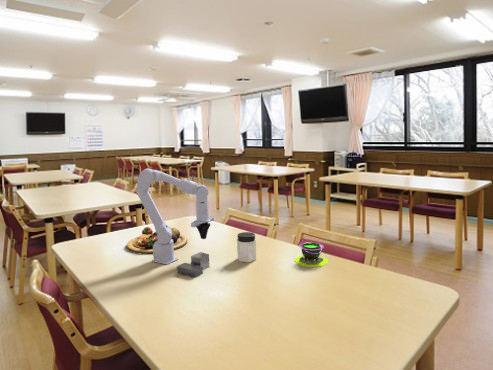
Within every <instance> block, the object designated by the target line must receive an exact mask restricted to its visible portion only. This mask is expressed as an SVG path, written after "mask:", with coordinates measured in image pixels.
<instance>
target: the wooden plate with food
mask: <svg viewBox="0 0 493 370" xmlns="http://www.w3.org/2000/svg"><path fill="white" fill-rule="evenodd" d="M171 229H172V240H173V245H174V251H177V250H179V249H182V248H184V247H185V246H186V245H187V244H188V238H187V237H186V236H185V235H183V234H181V232H180V231H179V229H178V228H176V227H172V228H171ZM157 241H158V239H157V233H156V231H154V232H153V229H152V228H151V227H150V226H146V227H145V228H143V229H142V231H141V234H140V235H139V236H137V237H135V238H132V239H131V240H129V241H128V242H127V244H126V249H127V250H128V251H129V252H131V251H132V252H131V253H133V252H135V254H138V253H141V254H140V255H153V245H154V243H155V242H157Z"/></svg>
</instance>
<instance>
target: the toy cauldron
mask: <svg viewBox="0 0 493 370" xmlns="http://www.w3.org/2000/svg"><path fill="white" fill-rule="evenodd" d="M311 237H313V236H311ZM304 240H306V238H305V239H303V241H304ZM313 240H317V238H316V236H315V237H314V238H313ZM318 241H319V242H313V241H310V242H309V241H308V242H301V243H300V244H299V245H298V247H299V248H300V249H301V254H302V255H299V256H296V257H295V258H294V262H295V264H297V265H298V266H299V265H300V266H303V267H308V268H318V267H323V266H325V265H327V264H328V263H329V261H328V258H326V257H323V256H322V255H321V254H322V251H323V249H324V248H325V246H324V245H323V244H322V243H320V242H321V240H318Z"/></svg>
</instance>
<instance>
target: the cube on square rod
mask: <svg viewBox="0 0 493 370" xmlns="http://www.w3.org/2000/svg"><path fill="white" fill-rule="evenodd" d="M190 264H193V265H196V264H199V266H201V267H203V271H205V270H207V269H209V268H210V254H209V253H206V252H201V251H200V252H197V253H195V254H193V255H191V256H190Z"/></svg>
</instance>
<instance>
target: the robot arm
mask: <svg viewBox="0 0 493 370" xmlns="http://www.w3.org/2000/svg"><path fill="white" fill-rule="evenodd" d="M136 181H137V183H136V194H137V196H138V198H139V201H140V202H141V204H142V206H143V207H144V209H145V211H146V213H147V215H148V217H149V219H150V220H151V223H152V224H153V227H154V230H155V232H156V233H157V239H158V241H157V242H155V243H154V245H153V254H152V255H153V257H152V258H153V259H152V260H151V261H152V262H155V263H159V264H163V265H169V264H171V263H173V262H176V261H178V260H179V258H178V257H175V250H174V245H173V240H172V228H171V227H170V226H168V224H167V223H166V222H165V220H164V219H163V217H162V214H161V213H160V211H159V209H158V207H157V205H156V203H155V201H154V199H153V197H152V196H151V193H150V192H149V190H150V187H151V184H152V183H153V181H154V182H156V183H158V182H166V183H168V184H169V185H170V184H171V185H174V186H176V187H178V188H179V190H180V191H182V192H184V193H187V194H191V195H192V196H193V195H194V196H195V198H196V200H195V215H196V219H195V220H194V221H192V222H191V223H190V227H191V228H196V229H197V231H198V233H199V236H200V239H201V240H205V239H207V236H208V232H209V228H210V227H211V222H214V221H215V217H214V216H210V214H209V213H210V211H209V200H208V199H209V198H208V196H209V190H208V188H207V186H206V185H204V184H203V183H200V182H195V181H193V180H191V178H189V177H188V178H182V179H180V178H178V177H175V176H172V175H170V174H168V173H165V172H163V171H160V170H158V169H153V168H150V167H149V168H148V167H147V168H145V169H143V170H142V171H140V173H139V175H138V177H137V180H136Z"/></svg>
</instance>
